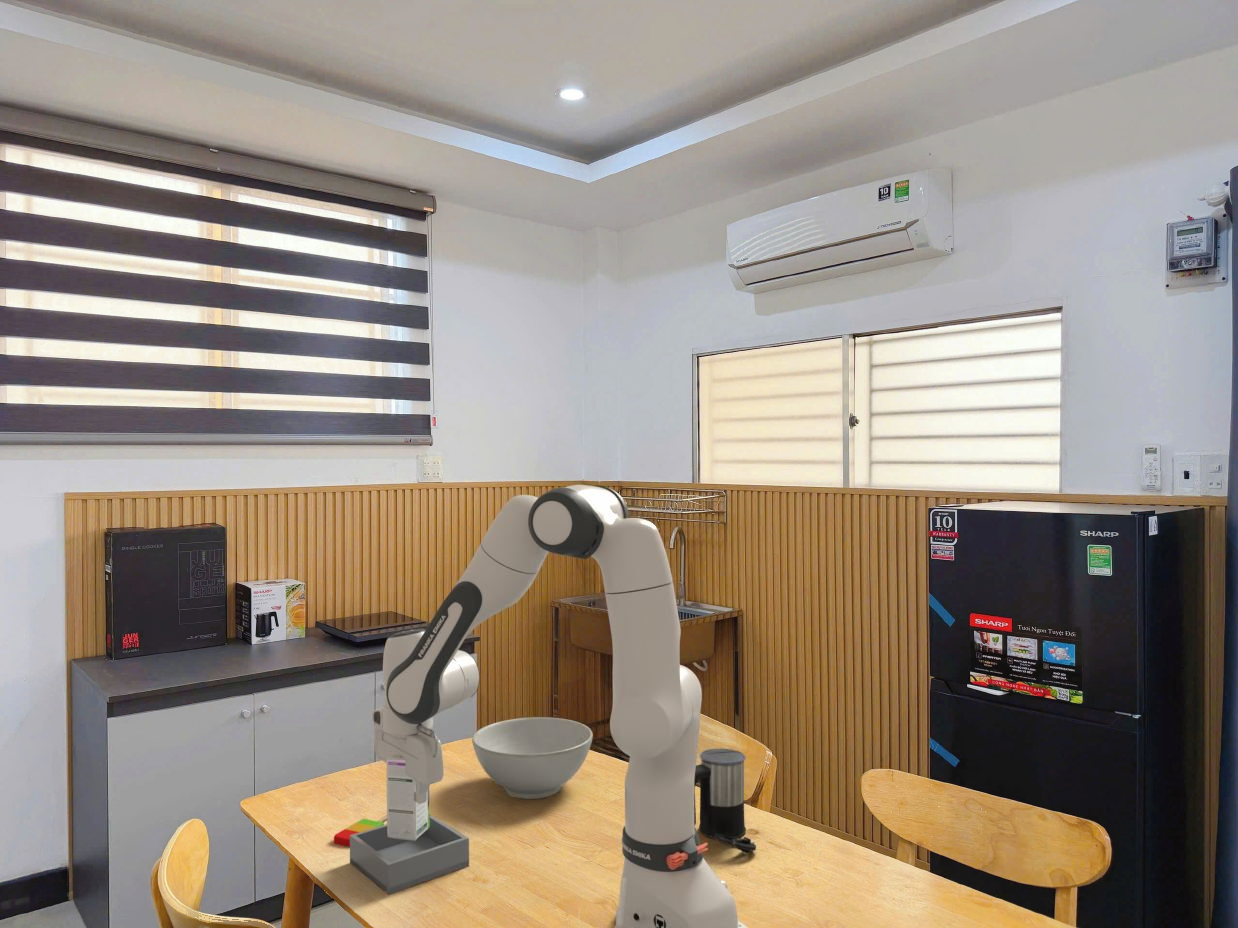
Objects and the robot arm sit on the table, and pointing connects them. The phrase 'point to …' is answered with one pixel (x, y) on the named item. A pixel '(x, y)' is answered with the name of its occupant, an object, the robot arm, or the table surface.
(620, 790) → the table surface
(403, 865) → the bin
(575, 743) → the decorative bowl
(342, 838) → the popsicle
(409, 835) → the syrup box
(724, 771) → the milk frother
